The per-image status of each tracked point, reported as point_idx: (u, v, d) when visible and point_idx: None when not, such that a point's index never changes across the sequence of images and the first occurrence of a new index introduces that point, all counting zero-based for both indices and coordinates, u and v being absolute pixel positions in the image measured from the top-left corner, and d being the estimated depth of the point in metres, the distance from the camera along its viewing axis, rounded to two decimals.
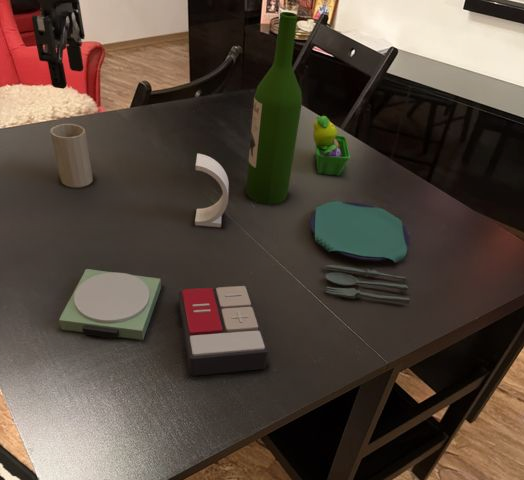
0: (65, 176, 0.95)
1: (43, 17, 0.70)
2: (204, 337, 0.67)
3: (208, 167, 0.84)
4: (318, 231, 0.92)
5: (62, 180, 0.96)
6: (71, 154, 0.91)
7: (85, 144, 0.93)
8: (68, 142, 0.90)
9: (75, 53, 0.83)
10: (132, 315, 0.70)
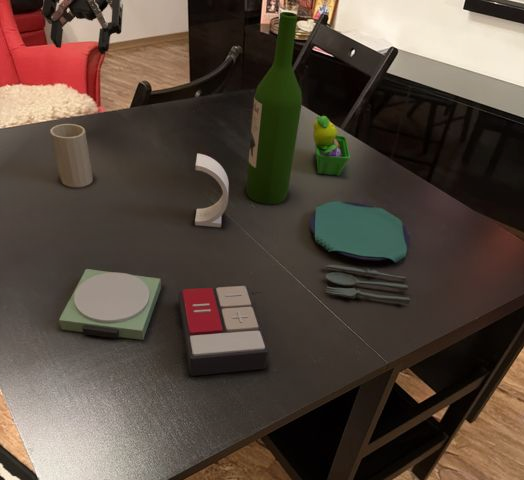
0: (65, 176, 0.95)
1: (120, 0, 0.91)
2: (204, 337, 0.67)
3: (208, 167, 0.84)
4: (318, 231, 0.92)
5: (62, 180, 0.96)
6: (71, 154, 0.91)
7: (85, 144, 0.93)
8: (68, 142, 0.90)
9: (60, 31, 0.91)
10: (132, 315, 0.70)
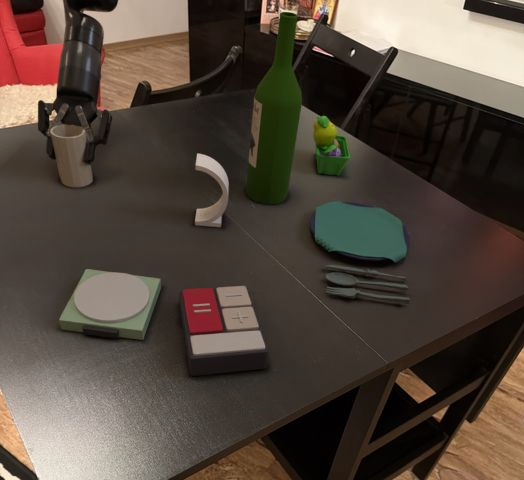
0: (65, 176, 0.95)
1: (110, 114, 0.94)
2: (205, 337, 0.67)
3: (208, 167, 0.84)
4: (318, 231, 0.92)
5: (62, 180, 0.96)
6: (71, 154, 0.91)
7: (85, 144, 0.93)
8: (68, 142, 0.90)
9: None
10: (132, 315, 0.70)
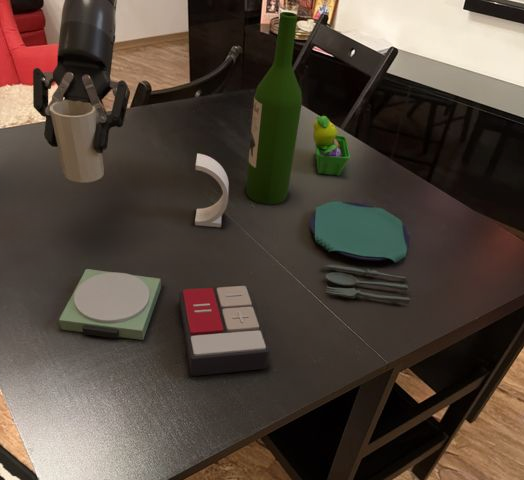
0: (69, 168, 0.73)
1: (127, 86, 0.72)
2: (205, 337, 0.67)
3: (208, 167, 0.84)
4: (318, 231, 0.92)
5: (65, 173, 0.74)
6: (77, 139, 0.70)
7: (95, 126, 0.71)
8: (73, 122, 0.68)
9: None
10: (132, 315, 0.70)
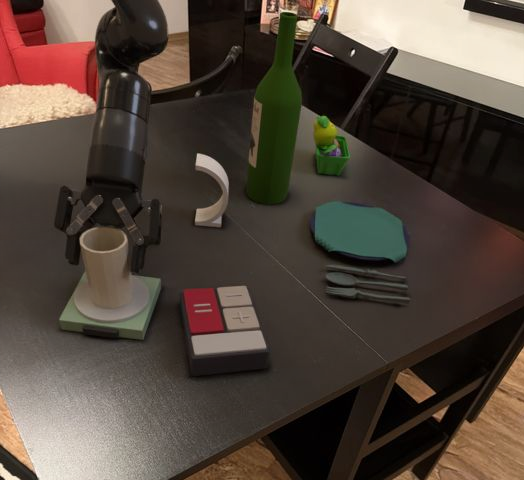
0: (98, 296, 0.69)
1: None
2: (206, 337, 0.67)
3: (208, 167, 0.84)
4: (318, 231, 0.92)
5: (93, 299, 0.70)
6: (108, 271, 0.65)
7: (127, 255, 0.67)
8: (104, 257, 0.64)
9: (79, 245, 0.67)
10: (132, 315, 0.70)
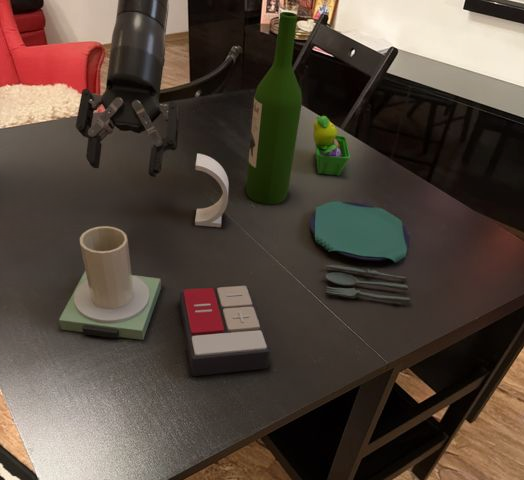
0: (98, 296, 0.69)
1: None
2: (206, 337, 0.67)
3: (208, 167, 0.84)
4: (318, 231, 0.92)
5: (93, 299, 0.70)
6: (108, 271, 0.65)
7: (127, 255, 0.67)
8: (104, 257, 0.64)
9: (99, 148, 0.70)
10: (132, 315, 0.70)
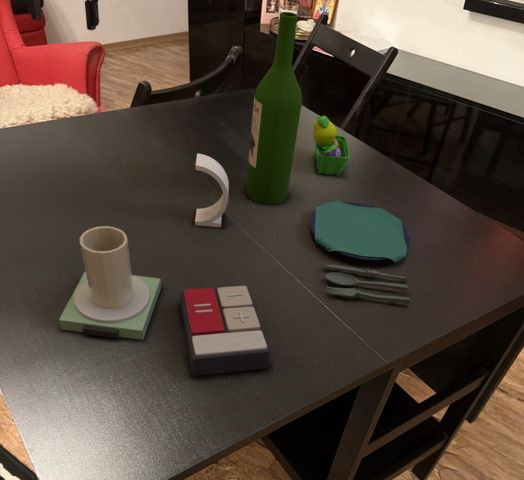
0: (98, 296, 0.69)
1: None
2: (206, 337, 0.67)
3: (208, 167, 0.84)
4: (318, 231, 0.92)
5: (93, 299, 0.70)
6: (108, 271, 0.65)
7: (127, 255, 0.67)
8: (104, 257, 0.64)
9: None
10: (132, 315, 0.70)
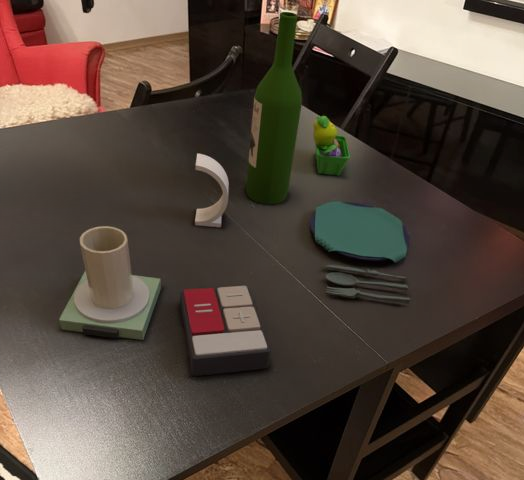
0: (98, 296, 0.69)
1: None
2: (207, 337, 0.67)
3: (208, 167, 0.84)
4: (318, 231, 0.92)
5: (93, 299, 0.70)
6: (108, 271, 0.65)
7: (127, 255, 0.67)
8: (104, 257, 0.64)
9: None
10: (132, 315, 0.70)
